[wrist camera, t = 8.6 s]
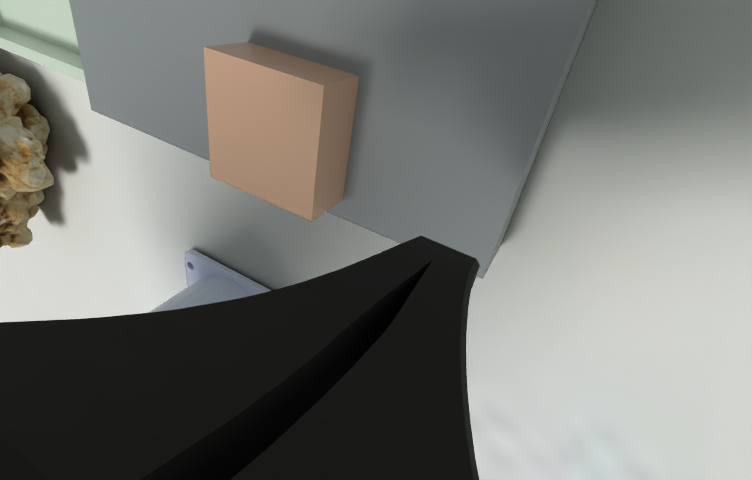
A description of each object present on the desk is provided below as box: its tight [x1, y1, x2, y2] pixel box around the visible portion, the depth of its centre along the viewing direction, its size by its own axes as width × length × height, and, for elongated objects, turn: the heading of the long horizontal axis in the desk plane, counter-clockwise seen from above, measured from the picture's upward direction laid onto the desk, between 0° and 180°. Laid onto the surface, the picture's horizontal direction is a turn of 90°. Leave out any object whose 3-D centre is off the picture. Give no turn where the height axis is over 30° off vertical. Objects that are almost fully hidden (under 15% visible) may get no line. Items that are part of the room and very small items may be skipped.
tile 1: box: [204, 42, 359, 221], centre depth 15 cm, size 4×4×2 cm
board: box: [69, 0, 598, 279], centre depth 15 cm, size 13×20×2 cm, turn 79°
